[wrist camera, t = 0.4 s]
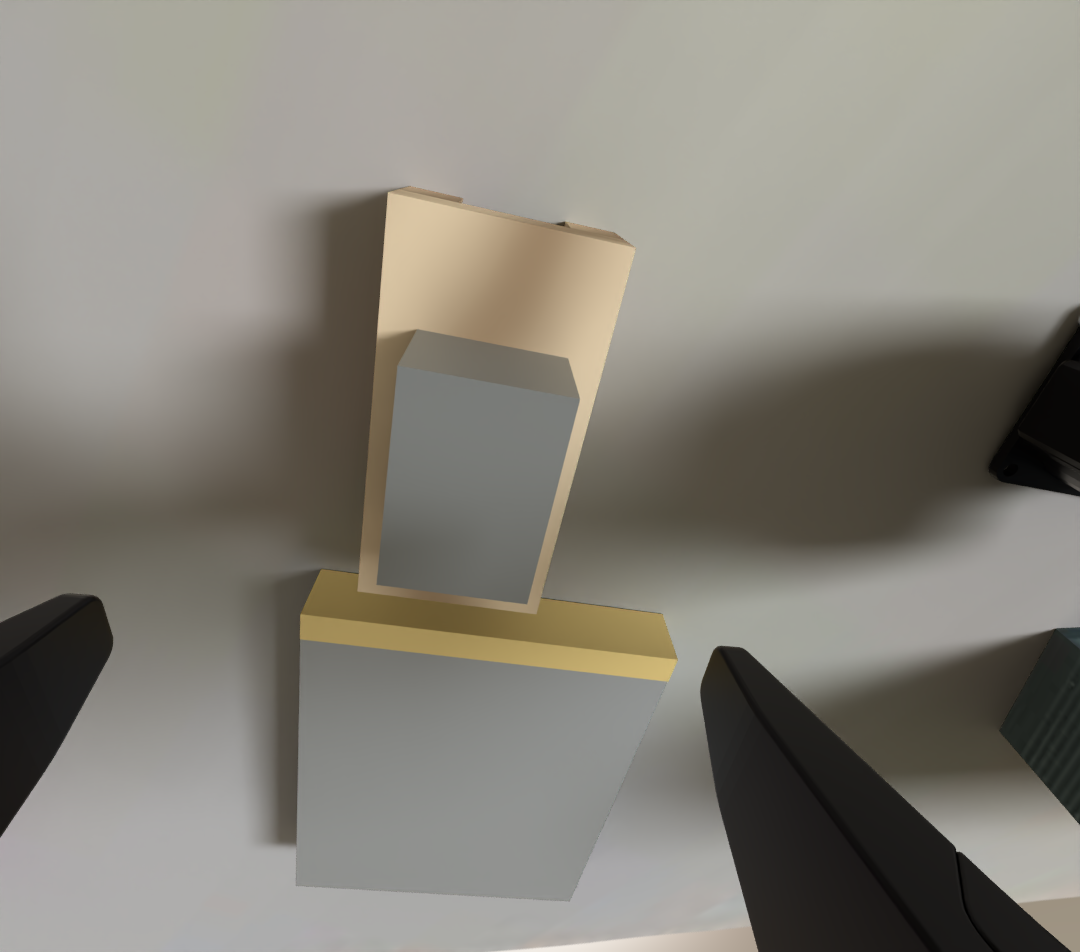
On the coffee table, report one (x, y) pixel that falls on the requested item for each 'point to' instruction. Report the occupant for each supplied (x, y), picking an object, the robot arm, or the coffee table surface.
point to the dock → (465, 739)
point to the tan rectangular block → (488, 327)
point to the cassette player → (1051, 719)
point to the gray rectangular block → (473, 466)
